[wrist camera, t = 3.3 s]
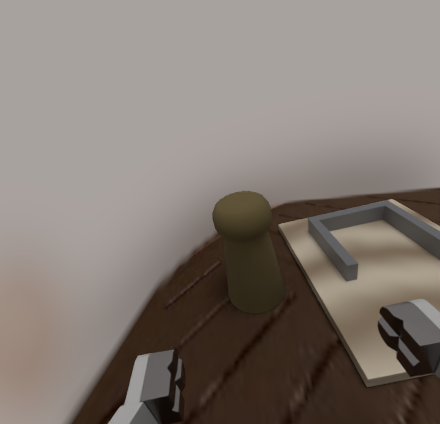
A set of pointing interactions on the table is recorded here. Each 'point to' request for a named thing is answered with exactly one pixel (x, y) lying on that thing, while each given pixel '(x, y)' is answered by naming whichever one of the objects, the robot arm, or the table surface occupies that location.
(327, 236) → the frame
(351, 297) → the board
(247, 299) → the olive pawn
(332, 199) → the table surface
